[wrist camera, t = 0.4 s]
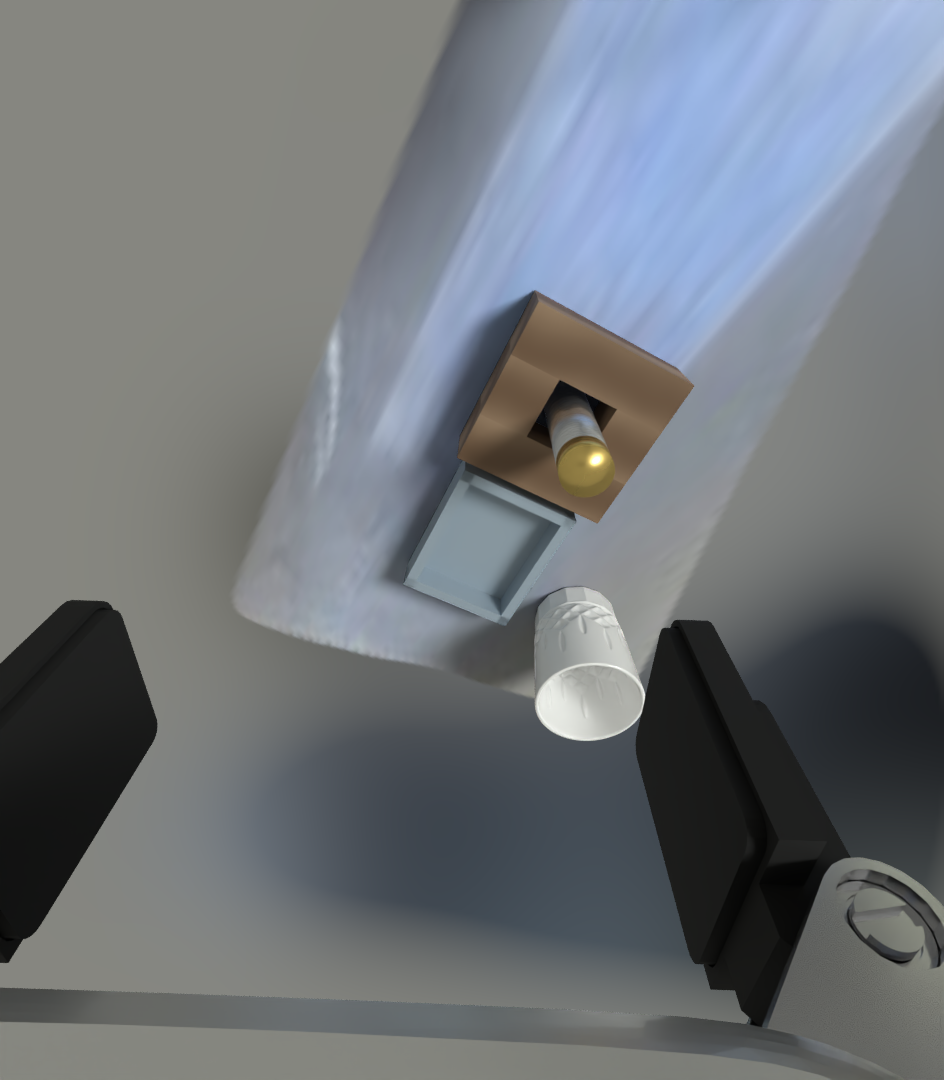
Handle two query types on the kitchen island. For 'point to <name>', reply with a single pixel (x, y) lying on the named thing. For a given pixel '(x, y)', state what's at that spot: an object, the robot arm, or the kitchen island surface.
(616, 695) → the white cup
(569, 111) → the kitchen island surface
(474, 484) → the tray
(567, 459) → the pin
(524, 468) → the socket block
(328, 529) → the kitchen island surface
